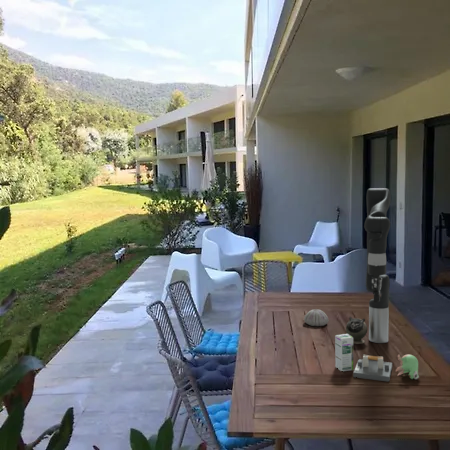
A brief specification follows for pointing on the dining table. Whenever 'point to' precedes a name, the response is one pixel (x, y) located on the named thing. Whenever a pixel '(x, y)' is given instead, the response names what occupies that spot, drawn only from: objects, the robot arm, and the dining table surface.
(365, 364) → the breaker paddles
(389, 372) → the breaker panel
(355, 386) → the dining table surface
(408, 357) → the frog
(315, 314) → the sea urchin shell
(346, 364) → the syrup box
